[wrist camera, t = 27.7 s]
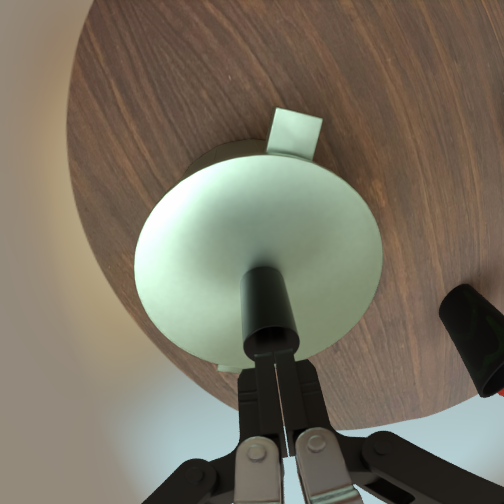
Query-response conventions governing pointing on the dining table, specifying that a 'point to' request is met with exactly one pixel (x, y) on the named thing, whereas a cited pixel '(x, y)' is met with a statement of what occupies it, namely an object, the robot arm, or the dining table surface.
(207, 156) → the pot
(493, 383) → the cup
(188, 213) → the pot lid
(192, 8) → the dining table surface
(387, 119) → the dining table surface
